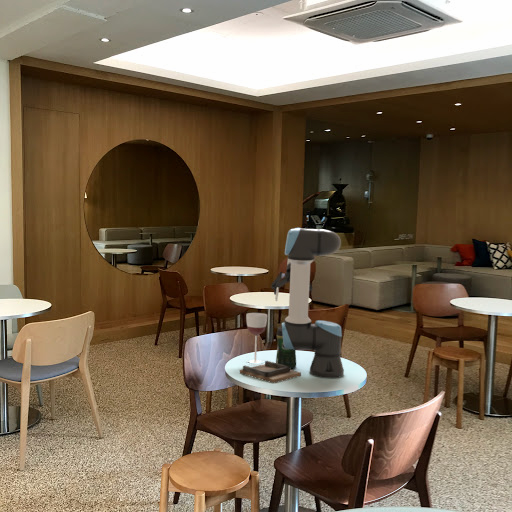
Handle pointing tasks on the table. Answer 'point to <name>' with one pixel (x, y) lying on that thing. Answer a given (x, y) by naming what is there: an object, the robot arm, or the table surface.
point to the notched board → (270, 372)
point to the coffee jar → (284, 352)
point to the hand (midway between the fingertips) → (290, 300)
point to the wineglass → (256, 327)
